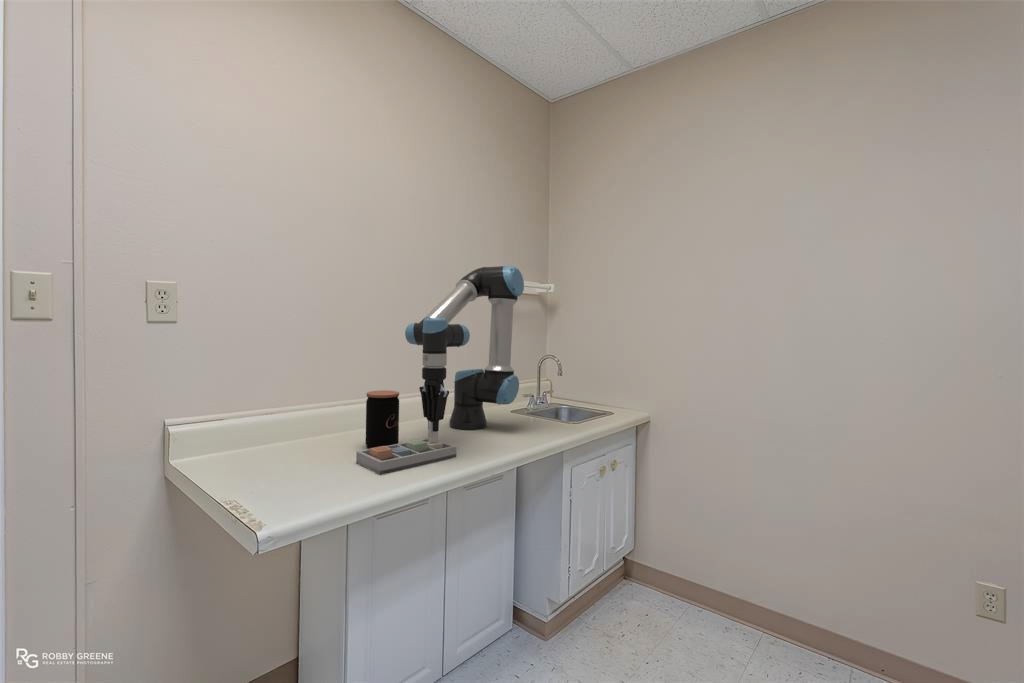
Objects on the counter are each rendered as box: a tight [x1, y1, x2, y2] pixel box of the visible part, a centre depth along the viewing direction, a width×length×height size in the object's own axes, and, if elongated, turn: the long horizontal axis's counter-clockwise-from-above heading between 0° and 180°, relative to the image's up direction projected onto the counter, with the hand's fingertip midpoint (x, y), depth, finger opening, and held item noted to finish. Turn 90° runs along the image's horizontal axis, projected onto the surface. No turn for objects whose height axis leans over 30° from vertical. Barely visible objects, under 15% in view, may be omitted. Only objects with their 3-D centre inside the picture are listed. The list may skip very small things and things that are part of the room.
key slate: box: [392, 447, 410, 457], centre depth 136 cm, size 5×5×2 cm
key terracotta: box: [369, 446, 392, 460], centre depth 132 cm, size 5×5×3 cm
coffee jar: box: [365, 389, 400, 449], centre depth 153 cm, size 11×11×18 cm
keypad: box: [355, 437, 457, 476], centre depth 139 cm, size 26×14×3 cm, turn 135°
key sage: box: [405, 439, 427, 452], centre depth 141 cm, size 5×5×3 cm
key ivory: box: [427, 441, 443, 449], centre depth 145 cm, size 5×5×3 cm
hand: (433, 440), depth 145 cm, fingers closed
